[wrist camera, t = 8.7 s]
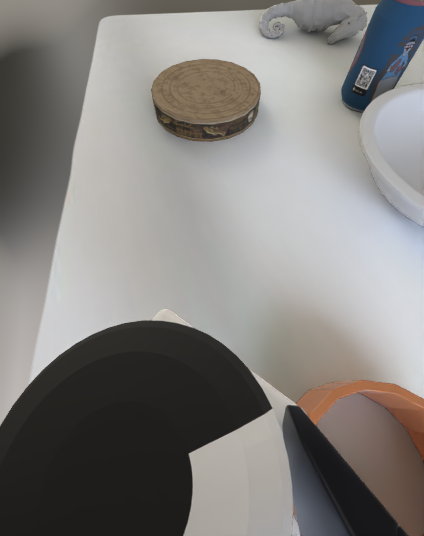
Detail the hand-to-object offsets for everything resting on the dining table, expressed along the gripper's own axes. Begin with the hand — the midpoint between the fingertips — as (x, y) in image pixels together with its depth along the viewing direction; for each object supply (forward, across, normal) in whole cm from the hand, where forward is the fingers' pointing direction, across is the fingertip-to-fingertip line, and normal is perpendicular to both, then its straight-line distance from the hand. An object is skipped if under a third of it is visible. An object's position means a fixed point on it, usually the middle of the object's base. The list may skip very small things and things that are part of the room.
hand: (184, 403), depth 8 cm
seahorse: (+56, -14, -38) cm, 70 cm away
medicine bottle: (+5, 0, +6) cm, 8 cm away
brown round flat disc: (+37, +4, -19) cm, 42 cm away
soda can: (+40, -21, -22) cm, 50 cm away
